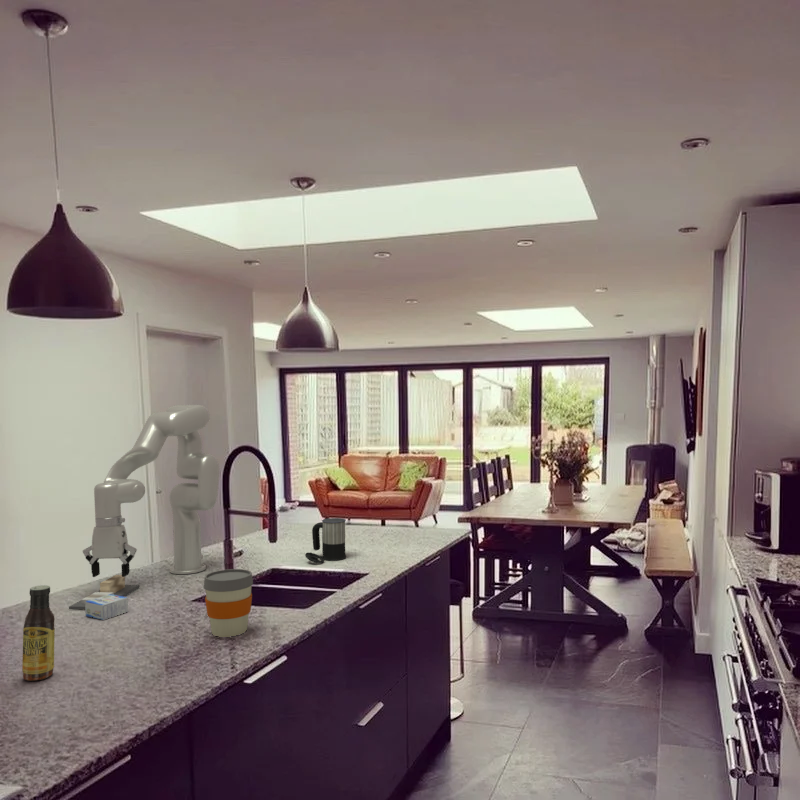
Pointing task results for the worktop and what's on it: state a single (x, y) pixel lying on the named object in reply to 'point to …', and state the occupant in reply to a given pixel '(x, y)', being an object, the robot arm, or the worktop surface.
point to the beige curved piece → (107, 587)
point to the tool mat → (122, 592)
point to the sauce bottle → (38, 636)
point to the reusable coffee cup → (228, 601)
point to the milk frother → (329, 540)
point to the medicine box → (106, 606)
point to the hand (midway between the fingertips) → (110, 575)
